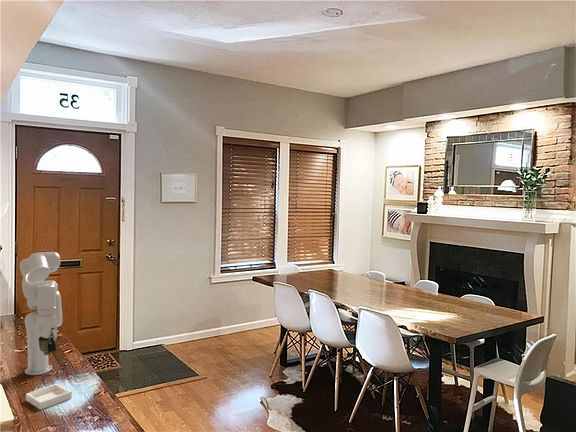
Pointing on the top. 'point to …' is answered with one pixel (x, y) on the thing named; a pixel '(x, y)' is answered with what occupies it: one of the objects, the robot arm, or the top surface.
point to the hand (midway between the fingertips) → (47, 349)
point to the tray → (48, 396)
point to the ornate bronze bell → (44, 345)
